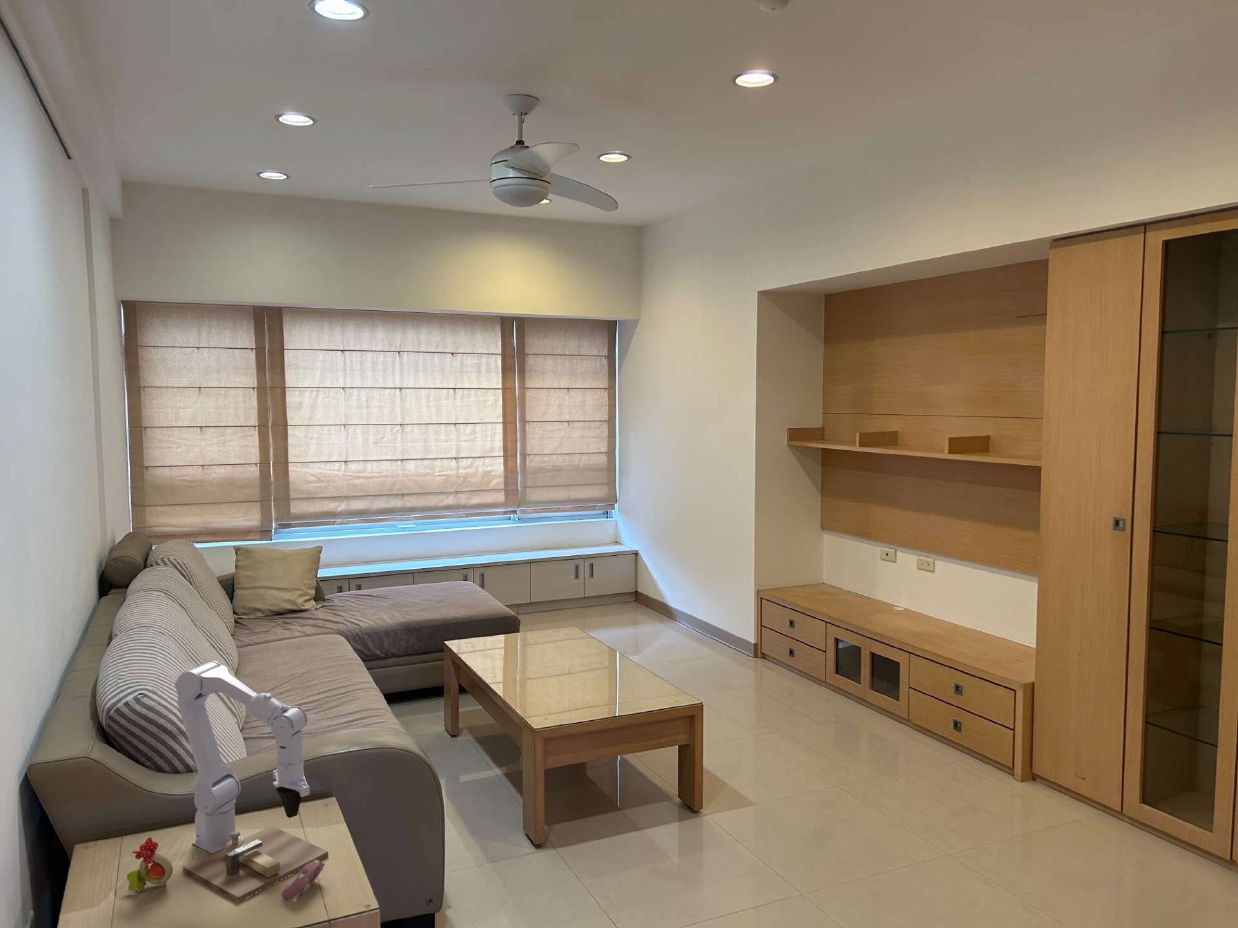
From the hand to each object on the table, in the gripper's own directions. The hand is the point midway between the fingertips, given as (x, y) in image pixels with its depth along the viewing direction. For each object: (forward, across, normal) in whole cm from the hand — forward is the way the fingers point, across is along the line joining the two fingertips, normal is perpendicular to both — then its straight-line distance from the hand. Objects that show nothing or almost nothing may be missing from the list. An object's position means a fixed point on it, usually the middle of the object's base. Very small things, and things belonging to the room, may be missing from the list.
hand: (291, 815), depth 209 cm
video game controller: (+9, +17, -6) cm, 20 cm away
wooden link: (+8, 0, -10) cm, 12 cm away
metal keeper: (+8, 0, -11) cm, 14 cm away
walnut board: (+9, -2, -8) cm, 12 cm away
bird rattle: (+10, -10, -28) cm, 31 cm away
